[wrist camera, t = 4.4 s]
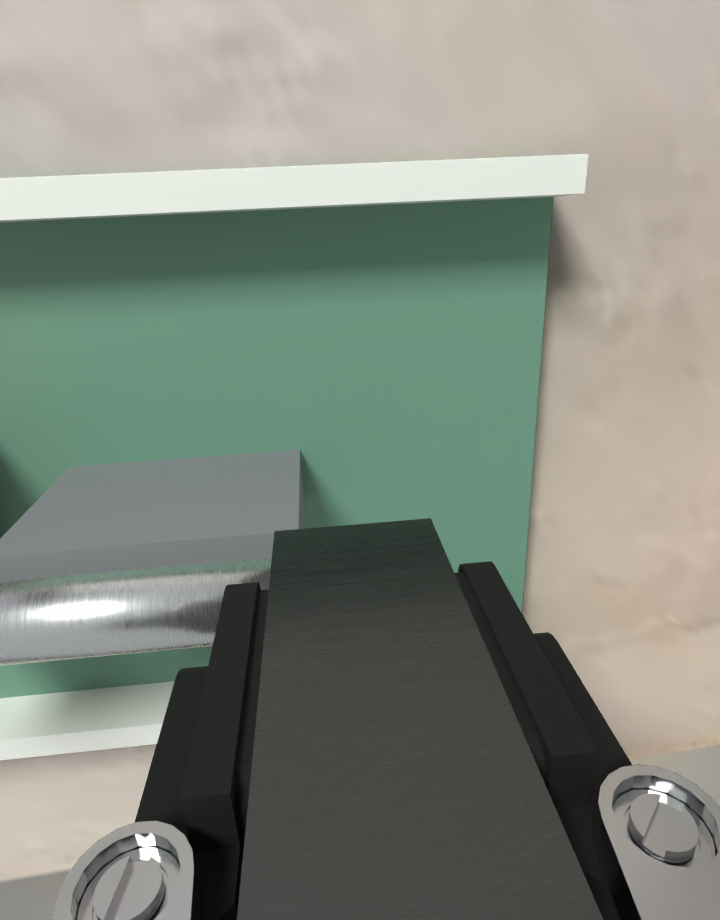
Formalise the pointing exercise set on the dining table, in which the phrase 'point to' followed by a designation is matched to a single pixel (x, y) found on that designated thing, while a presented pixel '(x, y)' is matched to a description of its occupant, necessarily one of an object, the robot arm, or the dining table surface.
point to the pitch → (258, 383)
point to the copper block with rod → (347, 726)
